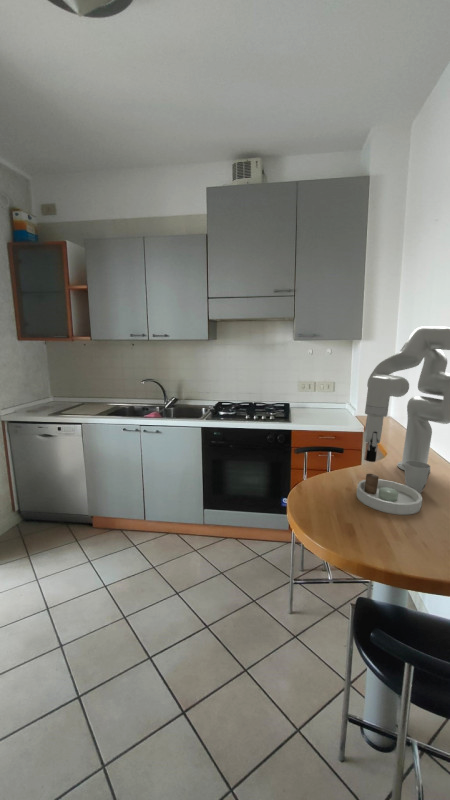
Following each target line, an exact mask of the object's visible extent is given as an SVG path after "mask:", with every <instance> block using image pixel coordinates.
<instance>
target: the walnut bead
mask: <svg viewBox="0 0 450 800" xmlns="http://www.w3.org/2000/svg"><path fill="white" fill-rule="evenodd" d="M378 479H380V478H379V475H378V474H374V473H366V475H365V480H366V482H365V490H364V491H365V492H366V493H368V494H376V493H377V486H378Z"/></svg>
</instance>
